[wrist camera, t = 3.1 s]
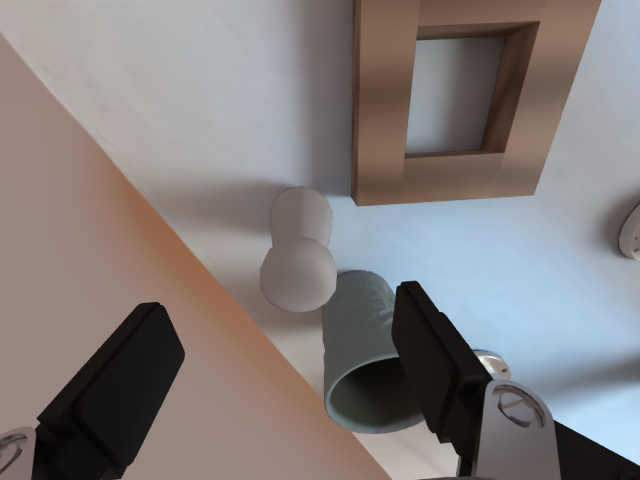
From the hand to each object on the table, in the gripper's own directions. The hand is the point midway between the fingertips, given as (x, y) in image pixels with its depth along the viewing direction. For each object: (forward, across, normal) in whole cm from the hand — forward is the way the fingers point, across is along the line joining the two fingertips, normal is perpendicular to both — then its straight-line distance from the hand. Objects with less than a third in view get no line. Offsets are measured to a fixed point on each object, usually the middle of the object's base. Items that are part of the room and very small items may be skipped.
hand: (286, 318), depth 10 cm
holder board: (+15, -14, -8) cm, 22 cm away
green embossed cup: (+15, -7, +13) cm, 21 cm away
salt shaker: (+16, -1, +1) cm, 16 cm away
